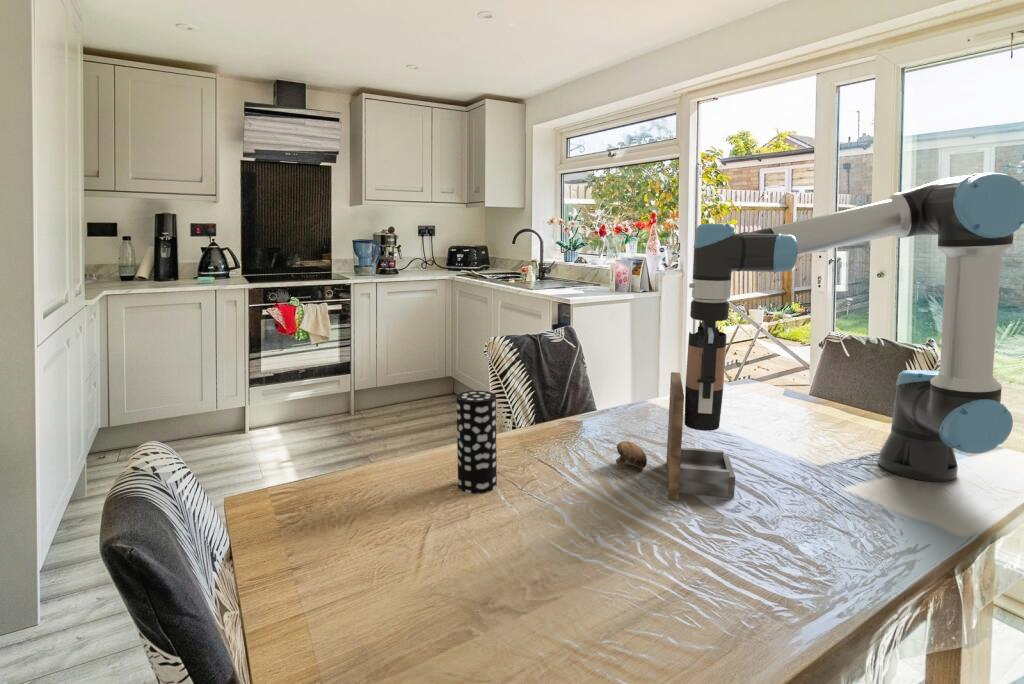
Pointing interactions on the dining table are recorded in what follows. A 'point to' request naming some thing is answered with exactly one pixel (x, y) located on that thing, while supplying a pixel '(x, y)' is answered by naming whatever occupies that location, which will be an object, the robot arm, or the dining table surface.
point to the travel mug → (692, 386)
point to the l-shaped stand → (693, 457)
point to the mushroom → (630, 455)
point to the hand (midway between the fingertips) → (703, 406)
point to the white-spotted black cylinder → (476, 441)
